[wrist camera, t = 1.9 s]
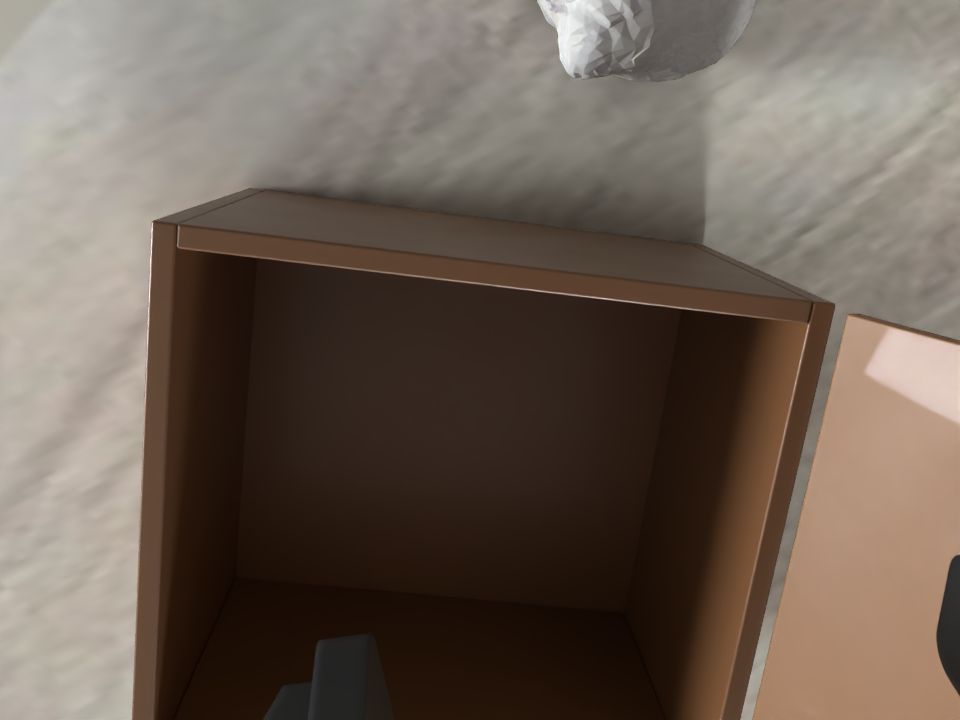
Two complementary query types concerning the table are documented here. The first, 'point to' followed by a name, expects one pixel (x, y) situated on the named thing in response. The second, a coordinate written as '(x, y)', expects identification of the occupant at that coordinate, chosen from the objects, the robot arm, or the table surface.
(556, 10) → the pebble
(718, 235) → the table surface
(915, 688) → the flap
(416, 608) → the carton
